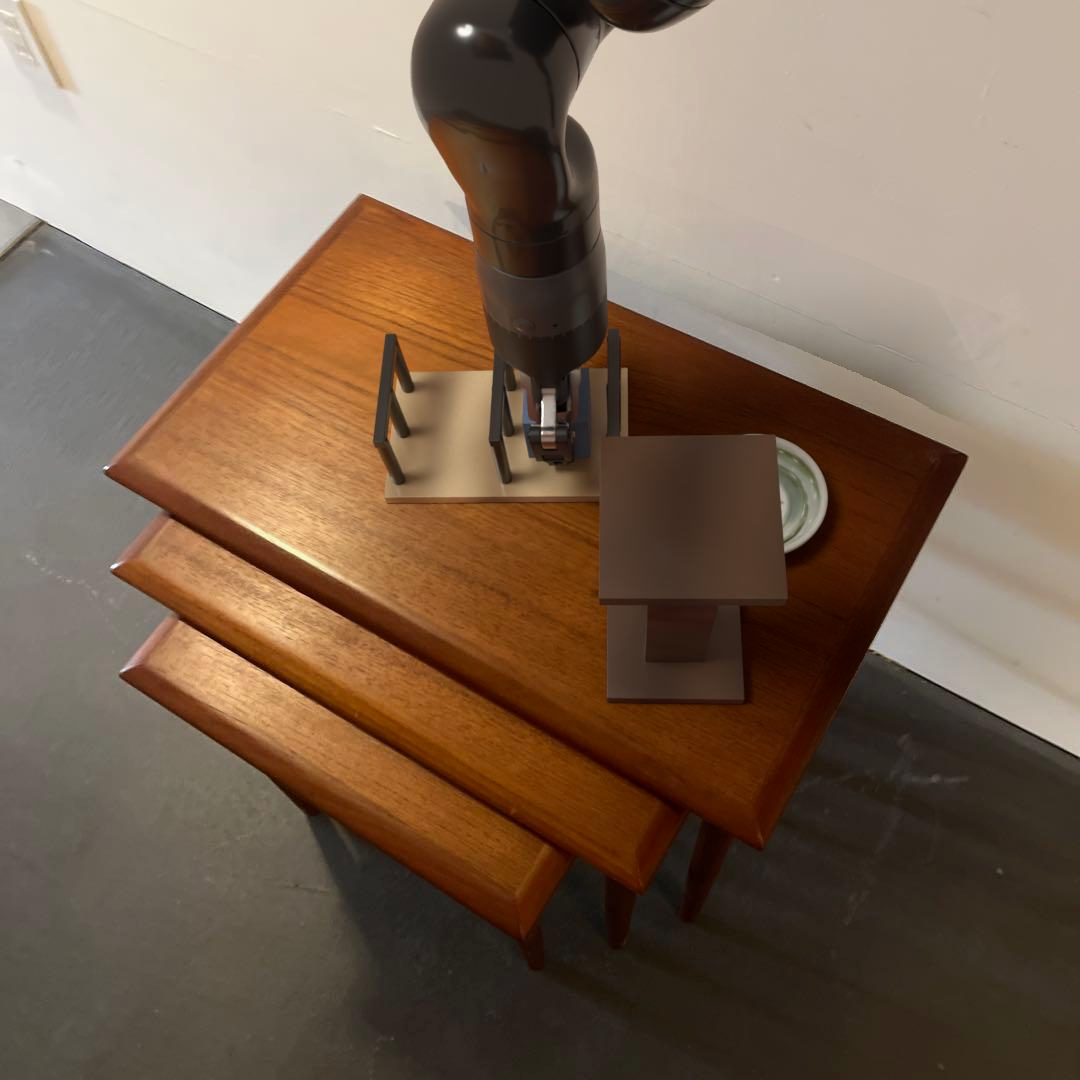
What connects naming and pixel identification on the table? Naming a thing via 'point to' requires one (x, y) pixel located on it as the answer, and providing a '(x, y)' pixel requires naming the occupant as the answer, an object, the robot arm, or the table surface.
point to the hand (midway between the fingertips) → (560, 428)
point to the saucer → (799, 494)
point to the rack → (483, 434)
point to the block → (579, 425)
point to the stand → (686, 561)
